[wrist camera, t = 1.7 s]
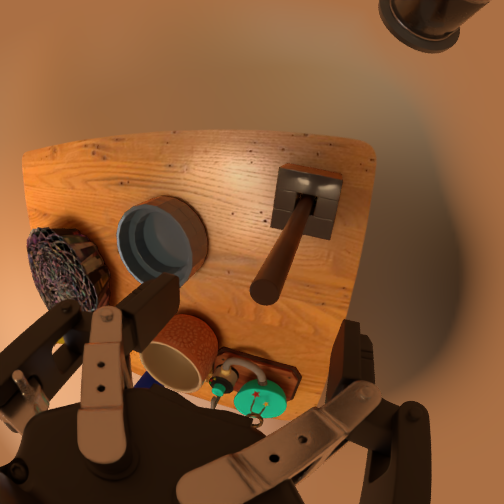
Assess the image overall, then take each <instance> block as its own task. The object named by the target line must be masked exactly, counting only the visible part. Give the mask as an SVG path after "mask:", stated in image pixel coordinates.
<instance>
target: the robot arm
mask: <svg viewBox="0 0 504 504" xmlns="http://www.w3.org/2000/svg"><path fill="white" fill-rule="evenodd" d="M490 1H491V0H389V8H390V11H391V14H392V16H393V17H394V19H395V20H396V22H397V23H398V24H399V25H400V26H401V27H402V28H403V29H404V30H405V31H407V32H408V33H409V34H411V35H413V36H414V37H416V38H419V39H421V40H424V41H428V42H440V41H443V40H445V39H446V38H448V37H449V36H450V35H451V34H452V32H453V31H454V32H455V30H456V29H457V28H458V27H460V26H461V25H462V24H463V23H464V22H466V21H467V20H468V19H469V18H470V17H472V16H473V15H474V14H475V13H476V12H477V11H479V10H480V9H481V8H483V7H484V6H485V5H486V4H487V3H489V2H490ZM457 30H458V29H457ZM454 32H453V33H454ZM179 304H180V290H179V277H178V276H176V275H172V274H169V273H165V272H163V273H162V274H161V275H159V276H158V277H157V278H156V279H151V280H148V281H146V282H144V283H142V284H141V285H140V286H139V287H138V288H137V289H135V290H134V291H133V292H132V293H130V294H129V295H128V296H127V297H126V298H124V299H123V300H122V301H121V302H120V303H119V304H117V305H116V306H115V307H114V306H103V307H100V308H98V309H97V310H95V311H94V312H88V311H82V310H81V307H80V304H79V302H78V301H76V300H73V299H67V300H63V301H61V302H59V303H57V304H56V305H55V306H54V307H53V308H51V309H50V310H49V311H48V312H46V314H44V315H43V316H42V317H40V318H39V319H38V320H37V321H36V322H35V323H34V324H32V325H31V326H30V327H29V328H28V329H26V330H25V331H24V332H23V333H22V334H21V335H20V336H18V337H17V338H16V339H15V340H14V341H13V342H12V343H11V344H10V345H8V346H7V347H6V348H5V349H4V350H3V351H2V352H1V353H0V419H1V420H2V421H3V422H4V423H5V424H6V426H7V427H8V428H9V429H10V430H11V431H13V432H15V433H20V434H21V435H22V440H21V444H20V447H19V450H18V452H17V454H16V456H15V458H14V459H13V460H12V461H11V462H10V463H8V464H6V465H4V466H2V467H0V504H304V502H303V500H302V498H301V496H300V495H299V493H298V491H297V489H296V487H295V486H296V485H298V484H299V483H301V482H302V481H303V480H305V479H306V478H307V477H309V476H310V475H311V474H312V473H313V472H314V471H316V470H317V469H318V468H319V467H320V466H321V465H322V464H324V463H325V462H326V461H327V460H328V459H330V458H331V457H332V456H333V455H335V454H336V453H337V452H338V451H339V450H340V449H342V448H343V447H344V446H345V445H346V444H347V443H348V442H350V441H351V442H353V443H356V444H358V445H360V446H362V447H365V448H367V449H368V454H367V462H366V468H365V475H364V482H363V487H362V492H361V498H360V503H359V504H430V501H431V436H430V423H429V422H430V421H429V414H428V411H427V409H426V408H425V407H424V406H423V405H421V404H420V403H418V402H415V401H407V402H405V403H403V404H402V405H401V406H398V405H395V404H393V403H390V402H388V401H386V400H385V399H383V398H382V395H381V392H380V390H379V388H378V387H377V386H376V385H375V374H374V360H373V346H372V342H371V341H370V339H369V337H368V336H367V335H363V334H360V323H359V322H355V321H350V320H345V319H344V320H343V322H342V324H341V327H340V329H339V332H338V335H337V337H336V340H335V342H334V345H333V348H332V352H331V357H330V367H329V376H328V384H327V392H326V400H325V405H323V406H322V407H320V408H317V407H312V408H311V409H309V410H308V411H306V412H305V413H303V414H302V415H300V416H299V417H297V418H296V419H294V420H292V421H291V422H289V423H288V424H286V425H285V426H283V427H281V428H280V429H278V430H277V431H275V432H273V433H272V434H270V435H268V436H266V435H264V434H263V433H262V432H261V431H259V430H257V429H256V428H255V427H253V426H251V425H252V422H253V418H249V417H246V416H242V415H239V414H236V413H233V412H229V411H225V410H217V409H209V408H202V407H198V406H196V405H194V404H193V403H191V402H190V401H188V400H187V399H185V398H184V397H183V396H181V395H180V394H178V393H177V392H175V391H172V390H170V389H168V388H165V387H163V386H161V385H158V384H156V383H153V385H152V386H151V387H150V389H149V388H133V382H132V371H131V359H130V352H131V351H132V350H134V351H136V352H139V353H142V352H143V351H144V350H145V349H146V347H147V346H148V345H149V344H150V343H151V342H152V340H153V339H154V338H155V337H156V336H157V335H158V334H159V332H160V331H161V330H162V329H163V328H164V327H165V326H166V324H167V323H168V322H169V321H170V320H171V319H172V318H173V316H174V315H175V314H176V313H177V311H178V308H179ZM62 337H63V338H64V341H65V343H64V344H63V345H62V346H61V347H60V348H59V349H58V350H57V351H56V352H55V353H54V354H53V355H52V348H53V346H54V345H55V344H56V343H57V342H58V341H59V340H60V339H61V338H62ZM82 363H83V365H82ZM81 365H82V380H81V402H79V403H75V404H71V405H67V406H63V407H59V408H55V409H50V410H48V408H49V401H50V400H51V399H52V398H53V397H54V396H55V394H56V393H57V392H58V391H59V389H61V387H62V386H63V385H64V384H65V383H66V382H67V380H68V379H69V378H70V377H71V376H72V374H74V372H75V371H76V370H77V369H78V368H79V367H80V366H81Z"/></svg>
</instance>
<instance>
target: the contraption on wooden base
mask: <svg viewBox="0 0 504 504" xmlns="http://www.w3.org/2000/svg"><path fill="white" fill-rule="evenodd" d="M211 376H212V377H211ZM210 377H211V378H210ZM301 378H302V376H301V375H300V373H299V372H298V370H297V368H296V367H294V366H290V365H286V364H282V363H278V362H274V361H271V360H267V359H263V358H260V357H256V356H253V355H250V354H246V353H243V352H240V351H236V350H233V349H230V348H227V347H222V348H221V349H219V350H218V354H217V357H216V359H215V362H214V363H213V366H212V367H211V369H210V371H209V374H208V376H207V377H206V379H205V382H208V381H209V384H210V385H211V387H212V393H213V394H215V395H216V396H217V398H216V397H215V396H213V398H212V400H211V409H215V407H216V405H217V403H218V401H219V399H220V397H221V396H223V394H227V393H231V392H232V391H233V390H234V391H237V392H238V393H237V395H236V396H235V398H234V405H235V407H236V409H237V410H238V411H239V412H241V413H242V414H244V415H246V417H253V418H258V419H259V420H260V423H259V424H252V425H251V426H253V427H255V428H258V427H260V426H262V424H263V418H273V417H277V416H279V415H281V414H282V413H283V412H284V411H285V410H286V406H287V401H290V400H292V399H293V398H294V396H295V393H296V391H297V388H298V386H299V384H300V381H301ZM209 379H210V380H209Z"/></svg>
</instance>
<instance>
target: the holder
mask: <svg viewBox="0 0 504 504" xmlns="http://www.w3.org/2000/svg"><path fill="white" fill-rule="evenodd" d="M342 183H343V179H342V174H340V173H336V172H331V171H326V170H322V169H317V168H312V167H307V166H301V165H296V164H290V163H287V164H285V165H283V166H281V167H279V171H278V178H277V185H276V192H275V199H274V206H273V207H274V208H273V212H272V219H271V226H270V227H272V228H276V229H281V230H283V229H284V227H285V225H286V224H287V222H288V220H289V218H290V217H291V215H292V213H293V211H294V210H295V208H296V206H297V204H298V203H299V201H300V197H301V193H303V194H308V195H313V196H317V202H316V205H315V204H313V205H312V208H311V211H310V214H309V217H308V220H307V223H306V225H305V228H304V231H303V234H304V235H308V236H313V237H317V238H322V239H326V240H330V238H331V234H332V230H333V225H334V220H335V216H336V212H337V207H338V202H339V198H340V193H341V188H342Z"/></svg>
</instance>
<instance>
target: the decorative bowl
mask: <svg viewBox="0 0 504 504" xmlns="http://www.w3.org/2000/svg"><path fill="white" fill-rule="evenodd" d="M27 252H28V259H29V265H30V269H31V272H32V277H33V280H34V283H35V286H36V288H37V290H38V292H39V294H40V296H41V298H42V300H43V302H44V303H45V305H46V307H47V308H48V310H50V309H51V308H53V307H54V306H55V305H56V304H57V303H59V302H61V301H63V300H67V299H73V300H76V301H78V302H79V304H80V307H81V310H82V311H88V312H94V311H95V310H97V309H98V308H100V307H103V306H108V305H109V302H108V299H109V297H110V290H109V288H108V287H109V283H108V282H109V279H110V272H109V269H108V268H107V266H105V265H104V261H103V258H102V257H101V255H100V254H99V252H98V248H97V246H96V245H95V244H94V243H93V242H90V240H89V239H88V237H87V236H85V235H82V234H81V233H80V232H79V230H77V229H65V228H55V229H50V228H49V227H46V228H39V227H38V228H37V229H32V231H31V232H30V234H29V237H28V239H27Z"/></svg>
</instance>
